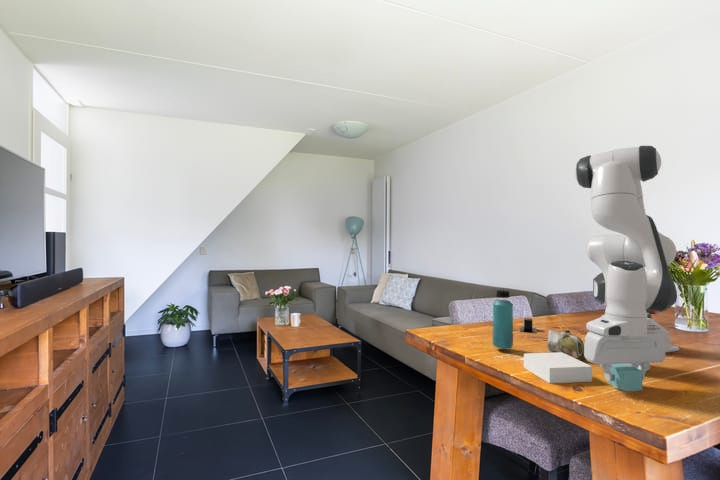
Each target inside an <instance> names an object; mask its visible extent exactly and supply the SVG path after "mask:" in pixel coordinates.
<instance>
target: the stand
mask: <svg viewBox="0 0 720 480" xmlns="http://www.w3.org/2000/svg"><path fill="white" fill-rule="evenodd" d="M523 368H524V369H526V370H528V371H529V372H531V373H532V374H534V375H536V376H537V377H539V378H540V379H542V380H543V381H545V382H546V383H548V384H566V383H567V384H568V383H569V384H570V383H585V382H586V383H589V382H593V366H592V365H590V364H588V363H585V362H583V361H581V360H580V359H579V360H577V359H575V358H573V357H571V356H569V355H567V354H565V353H562V352H556V353H555V352H532V353H530V352H529V353H528V352H527V353H523Z"/></svg>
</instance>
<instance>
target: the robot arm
mask: <svg viewBox="0 0 720 480" xmlns="http://www.w3.org/2000/svg"><path fill="white" fill-rule="evenodd" d="M661 168H662V159H661V155H660V153H659V152H658V150H657V148H656V147H654V146H652V145H639V146H638V147H637V146H636V147H634V146H633V147H623V148H617V149H616V148H615V149H613V150H609V151H603V152H601V153H597V154H593V155H586V156H584V157H581V158H580V159H579V160H578V161H577V162H576V166H575V170H574V176H575V179H576V181H577V184H578V185H579V186H580V187H582V188H584V189H590V210H591V215H592V218H593V220H594V221H595V222H596V223H597V224H598V225H599V226H601V227H603V228H604V229H606V230H609V231H611V232H615V233H617V234H604V235H603V234H602V235H597V236H593V237H592V238H590V239H589V241H588V242H587V245H586V250H585V251H586V255H587V257H588V259H589V260H590V261H591V262H592V263H594V264H595V265H596V266H597V267H599V269H600V270H601V272H600V273H598V275H596V276H595V277H594V278H593V281H592V284H593V286H592V297H593V299H594V300H596V301H597V302H598V303H599V304H600V305H603V306H606V307H605V311H604V315H605V316H602V315H601V316H600V317H598V318H595V319H592V320H590V321H588V322H587V323H586V326H585V327H586V330H587V331H588V332H587V333H586V335H585V337H584V343H583V344H584V356H583V357H584V358H585V360H586V361H587V362H589V363H592V364H593V365H597V366H598V365H599V366H600V367H601V370H602V371H603V373H604V380H606V381H607V382H608V381H615V374H613V373H611V371H610V368H612V364H626V363H637V364H639V366H638V368H637V369H639V370H642V371H643V375H642V381H643V380H646V379H645V374H646V373H647V371H648V370H647V369H648V368H649V363H650V364H653V363H663V362H664V361H665V360H666V353H672V352H673V353H674V352H680V348H679V347H678V346H677V345H675V344H672V343H671V336H670V332H669V331H668V330H667V329H666V328H665V327H663V326H661V324H659V323H658V322H657V321H656V320H654V319H653V317H652V315H654V316H658V314H659V313H661V312H664V311H666V310H669V309H670V308H671V307H673V306H674V305H675V304H676V303H677V299H678V293H677V292H678V291H677V287H676V284H675V281H674V279H673V276H672V275H671V272H670V269H669V265H670V264H672V262H674V260H675V258H676V256H677V247H676V244H675V242H674V241H673V240H672V239H671V238H670V237H668V236H666V235H664V234H663V233H660V231H658V228H657V224H656V223H655V221H654V220H653V218H652V216H649V215H648V214H647V213H646V209H645V203H644V196H643V195H644V193H643V189H642V184H641V182H643V183H644V182H646V181H650V180H652V179H654V178H655V177H656V176H657V175H659V171H660V169H661ZM647 318H650V319H651V325H647Z"/></svg>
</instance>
